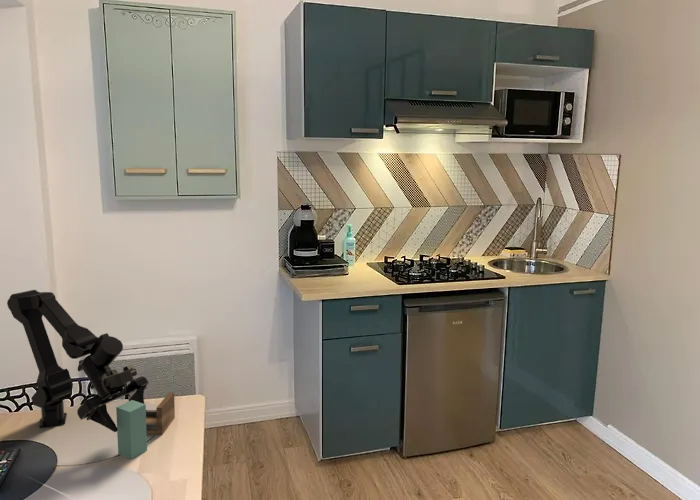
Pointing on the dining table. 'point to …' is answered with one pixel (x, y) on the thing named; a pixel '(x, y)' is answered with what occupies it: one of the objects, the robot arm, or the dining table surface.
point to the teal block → (131, 429)
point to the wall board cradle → (161, 416)
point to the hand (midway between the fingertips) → (131, 423)
